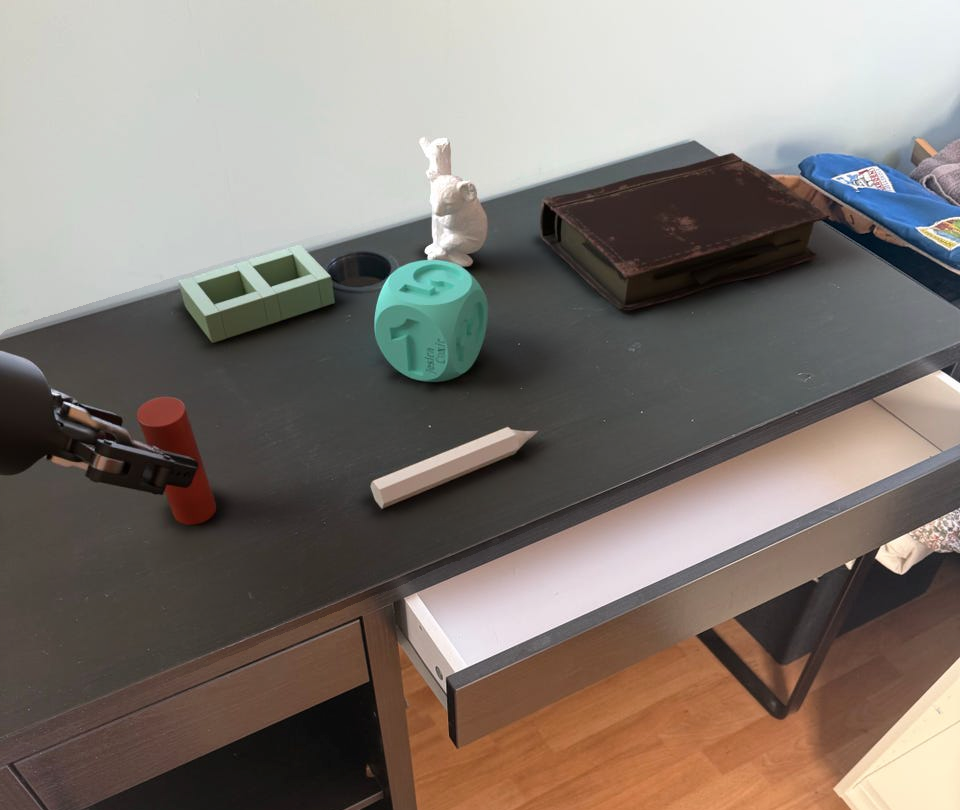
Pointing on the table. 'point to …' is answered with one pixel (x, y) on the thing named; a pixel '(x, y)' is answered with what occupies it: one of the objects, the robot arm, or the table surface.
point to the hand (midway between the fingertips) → (153, 450)
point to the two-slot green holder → (256, 292)
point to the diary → (680, 230)
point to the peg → (174, 434)
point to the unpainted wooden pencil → (448, 466)
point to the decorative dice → (431, 320)
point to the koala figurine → (452, 209)
